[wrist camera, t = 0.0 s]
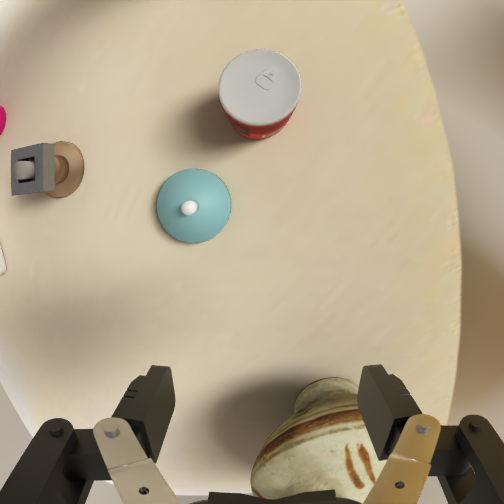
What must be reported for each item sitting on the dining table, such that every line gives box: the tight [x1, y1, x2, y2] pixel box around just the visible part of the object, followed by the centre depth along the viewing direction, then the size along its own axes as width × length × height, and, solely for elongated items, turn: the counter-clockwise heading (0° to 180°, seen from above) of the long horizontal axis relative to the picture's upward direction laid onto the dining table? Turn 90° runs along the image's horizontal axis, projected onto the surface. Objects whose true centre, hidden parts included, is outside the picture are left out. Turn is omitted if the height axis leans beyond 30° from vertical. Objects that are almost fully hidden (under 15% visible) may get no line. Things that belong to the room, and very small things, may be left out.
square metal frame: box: [11, 143, 55, 196], centre depth 32 cm, size 6×6×2 cm
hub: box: [157, 169, 231, 243], centre depth 38 cm, size 9×9×4 cm
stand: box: [13, 141, 84, 198], centre depth 34 cm, size 8×8×10 cm
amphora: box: [251, 377, 387, 504], centre depth 32 cm, size 24×24×30 cm
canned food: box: [219, 49, 302, 139], centre depth 32 cm, size 8×8×11 cm
